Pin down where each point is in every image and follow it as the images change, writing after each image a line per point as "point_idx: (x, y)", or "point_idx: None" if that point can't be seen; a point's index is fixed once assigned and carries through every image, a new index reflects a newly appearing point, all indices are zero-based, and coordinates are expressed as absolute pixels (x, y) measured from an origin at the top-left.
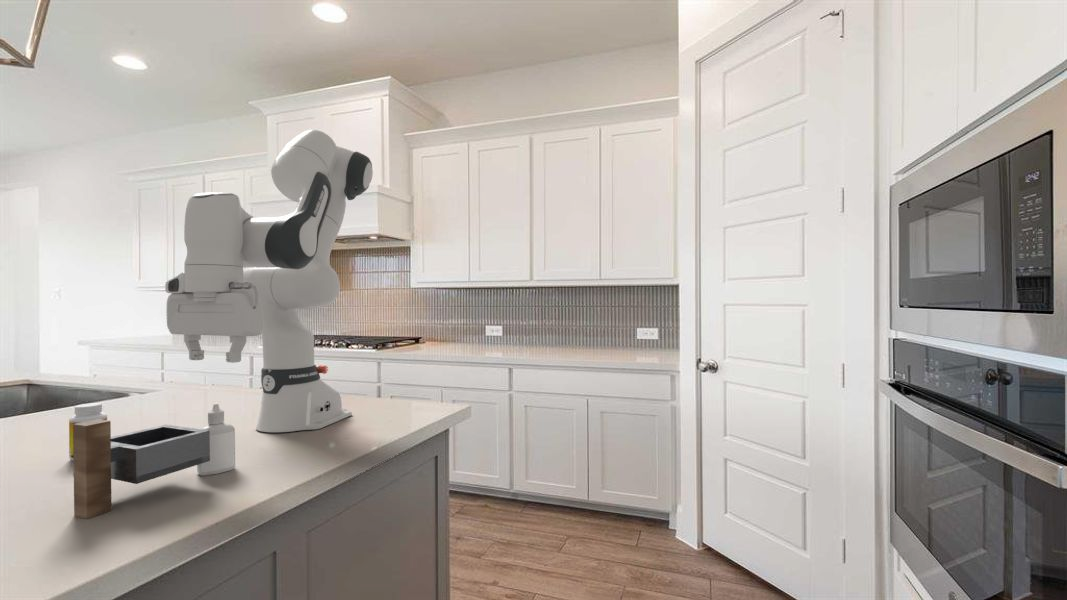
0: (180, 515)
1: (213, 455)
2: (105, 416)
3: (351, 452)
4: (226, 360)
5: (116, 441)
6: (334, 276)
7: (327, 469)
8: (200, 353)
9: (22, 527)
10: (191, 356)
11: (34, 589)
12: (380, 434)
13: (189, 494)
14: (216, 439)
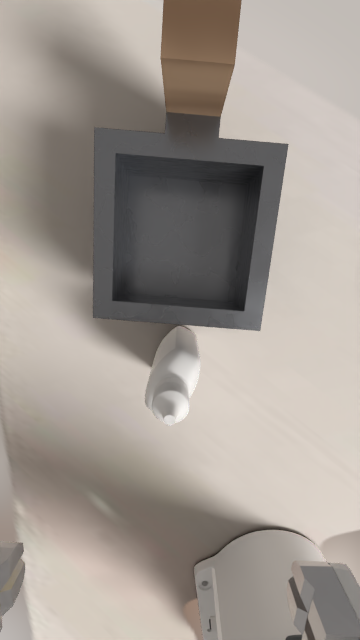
0: (47, 189)
1: (161, 348)
2: None
3: (37, 481)
4: (12, 547)
5: (257, 198)
6: None
7: (6, 407)
8: (306, 632)
9: (241, 70)
10: (336, 583)
11: None
12: (66, 567)
13: None
14: (156, 363)
